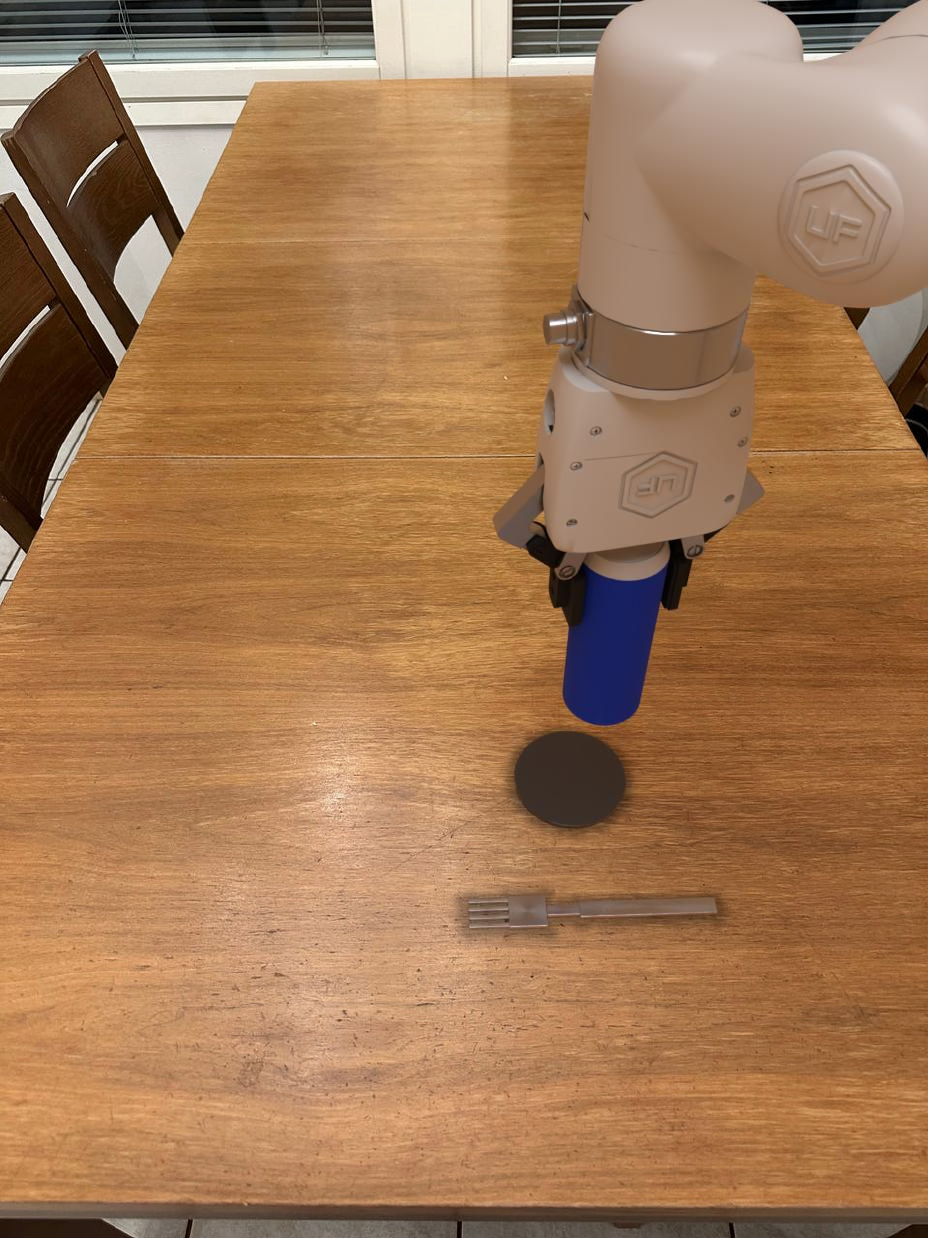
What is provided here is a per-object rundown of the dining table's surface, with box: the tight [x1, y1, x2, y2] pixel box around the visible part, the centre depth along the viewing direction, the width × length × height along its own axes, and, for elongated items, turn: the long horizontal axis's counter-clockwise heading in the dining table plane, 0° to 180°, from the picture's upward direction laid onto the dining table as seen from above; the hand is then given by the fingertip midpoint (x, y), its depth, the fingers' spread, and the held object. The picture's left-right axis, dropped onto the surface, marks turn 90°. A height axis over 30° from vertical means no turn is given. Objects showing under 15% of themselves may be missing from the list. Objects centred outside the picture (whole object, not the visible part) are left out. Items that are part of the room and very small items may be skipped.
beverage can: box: [561, 541, 670, 727], centre depth 58 cm, size 5×5×15 cm
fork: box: [467, 894, 719, 930], centre depth 69 cm, size 18×2×1 cm, turn 92°
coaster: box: [513, 730, 627, 829], centre depth 77 cm, size 9×9×1 cm
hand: (615, 599), depth 56 cm, fingers closed on beverage can, 5 cm apart
